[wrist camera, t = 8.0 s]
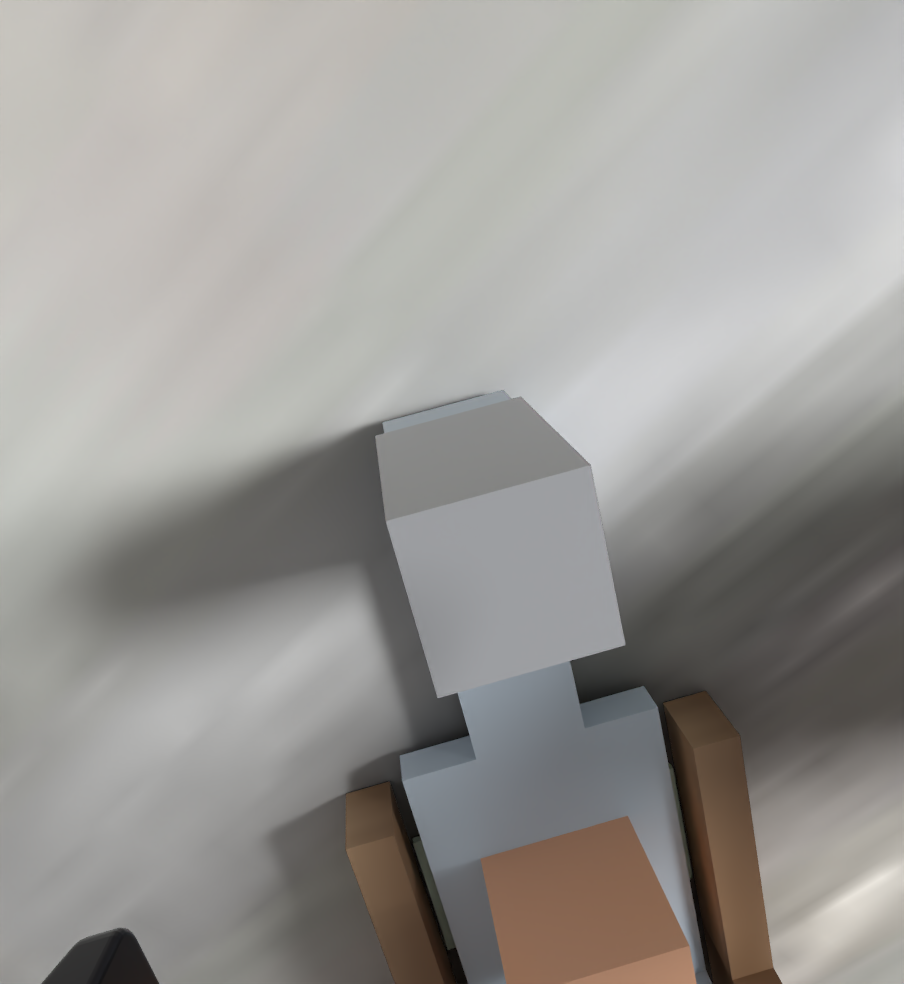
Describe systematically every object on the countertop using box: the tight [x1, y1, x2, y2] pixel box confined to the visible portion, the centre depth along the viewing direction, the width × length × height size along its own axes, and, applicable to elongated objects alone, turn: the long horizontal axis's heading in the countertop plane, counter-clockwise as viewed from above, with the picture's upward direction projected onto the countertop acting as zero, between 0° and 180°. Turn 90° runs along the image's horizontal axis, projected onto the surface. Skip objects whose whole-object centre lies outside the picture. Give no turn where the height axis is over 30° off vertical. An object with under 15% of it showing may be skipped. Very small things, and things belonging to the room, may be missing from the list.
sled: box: [375, 390, 712, 984], centre depth 18 cm, size 7×19×6 cm, turn 14°
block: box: [481, 816, 697, 984], centre depth 19 cm, size 4×4×4 cm
